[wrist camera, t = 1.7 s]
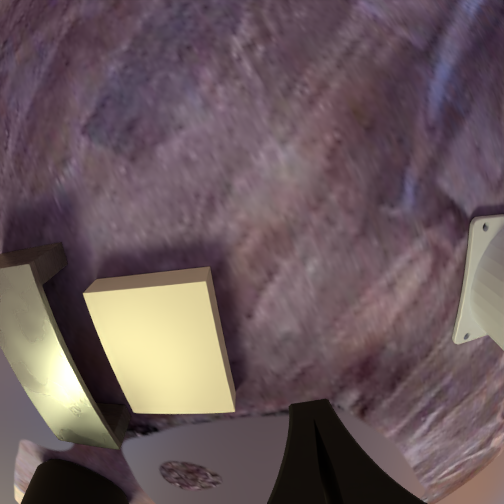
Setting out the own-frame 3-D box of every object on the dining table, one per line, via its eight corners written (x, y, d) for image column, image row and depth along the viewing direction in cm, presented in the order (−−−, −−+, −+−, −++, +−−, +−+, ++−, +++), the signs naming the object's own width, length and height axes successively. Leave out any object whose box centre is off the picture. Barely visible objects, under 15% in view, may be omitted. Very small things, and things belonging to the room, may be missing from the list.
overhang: (61, 242, 14) (29, 264, 11) (131, 416, 18) (119, 449, 15) (1, 253, 14) (-30, 273, 11) (73, 411, 18) (58, 439, 16)
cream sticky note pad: (209, 266, 15) (205, 280, 13) (235, 392, 17) (235, 411, 16) (96, 279, 15) (82, 293, 13) (140, 394, 17) (133, 412, 16)
